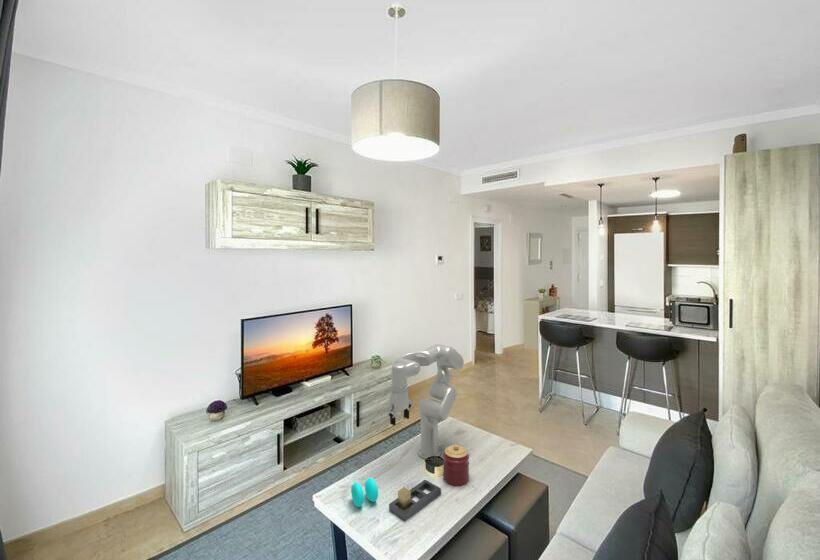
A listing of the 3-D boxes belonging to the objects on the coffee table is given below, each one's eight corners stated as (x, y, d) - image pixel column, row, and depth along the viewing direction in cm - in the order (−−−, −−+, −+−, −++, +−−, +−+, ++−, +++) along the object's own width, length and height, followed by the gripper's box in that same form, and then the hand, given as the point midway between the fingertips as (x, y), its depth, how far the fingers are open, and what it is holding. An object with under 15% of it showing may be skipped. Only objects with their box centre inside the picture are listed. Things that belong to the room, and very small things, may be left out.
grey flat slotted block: (425, 485, 181) (425, 479, 181) (441, 494, 174) (440, 488, 174) (389, 510, 163) (389, 503, 163) (405, 521, 157) (405, 514, 156)
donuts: (379, 505, 167) (379, 484, 166) (358, 513, 162) (358, 491, 161) (370, 492, 176) (370, 472, 175) (350, 499, 171) (350, 479, 170)
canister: (461, 468, 194) (461, 436, 193) (473, 483, 182) (473, 448, 181) (439, 473, 190) (438, 440, 189) (449, 489, 178) (449, 453, 177)
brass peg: (404, 506, 166) (404, 487, 165) (410, 510, 163) (410, 491, 163) (397, 510, 163) (397, 491, 163) (404, 515, 161) (404, 495, 160)
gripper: (406, 382, 195) (406, 413, 196) (381, 391, 183) (382, 424, 184) (416, 385, 190) (416, 417, 191) (392, 395, 177) (392, 429, 179)
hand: (399, 421), depth 188 cm, fingers open, 9 cm apart
